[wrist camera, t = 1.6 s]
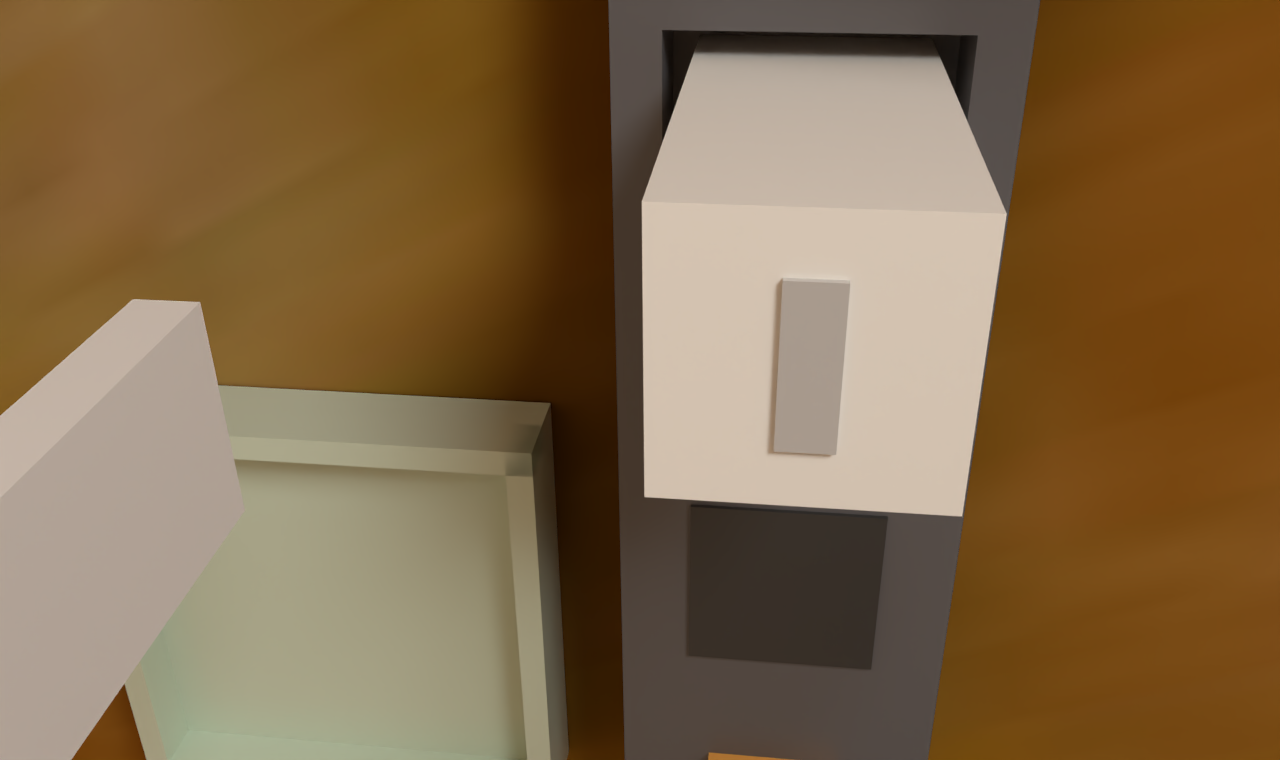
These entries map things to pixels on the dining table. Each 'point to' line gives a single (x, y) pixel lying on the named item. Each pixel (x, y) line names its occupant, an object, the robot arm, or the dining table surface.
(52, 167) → the dining table surface
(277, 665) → the dish
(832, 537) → the power strip
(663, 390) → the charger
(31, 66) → the dining table surface
